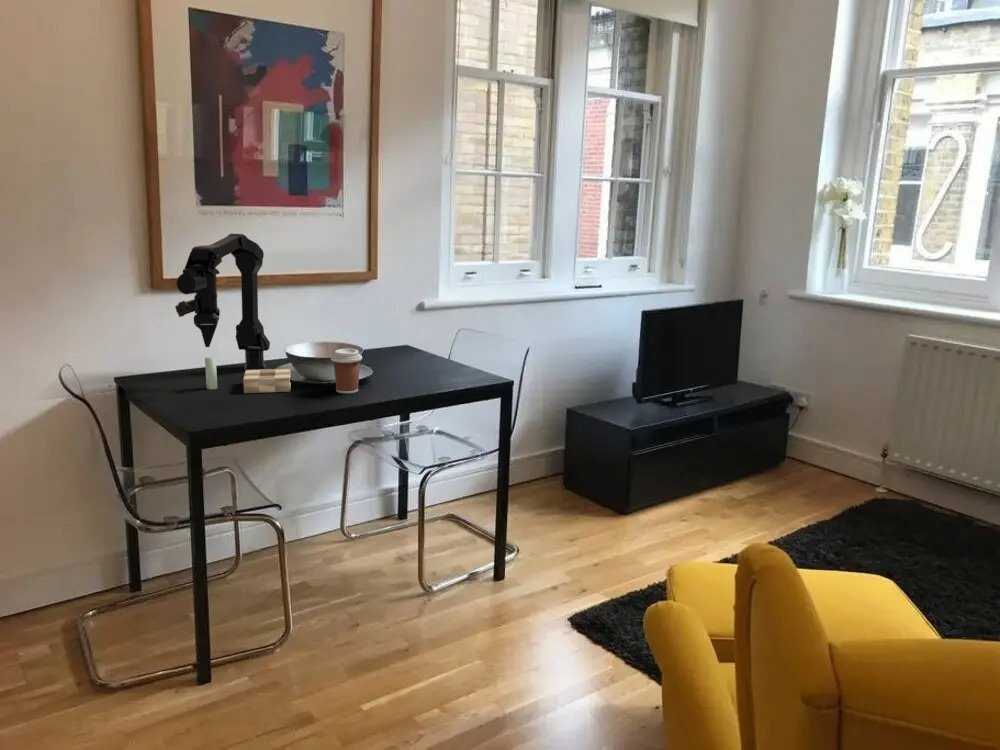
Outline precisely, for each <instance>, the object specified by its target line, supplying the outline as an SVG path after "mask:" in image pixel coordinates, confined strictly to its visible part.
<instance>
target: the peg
mask: <svg viewBox="0 0 1000 750" xmlns="http://www.w3.org/2000/svg"><path fill="white" fill-rule="evenodd" d="M216 359H217V358H216V357H213V356H209V357H205V358H204V364H205V365H204V366H205V382H206V389H207V390H217V389H218V377H217V376H218V375H217V374H218V373H217V360H216Z"/></svg>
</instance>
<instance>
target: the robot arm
mask: <svg viewBox="0 0 1000 750" xmlns="http://www.w3.org/2000/svg"><path fill="white" fill-rule="evenodd" d="M229 254H231V255H232V257H233V258H234V261H235V263H234V264H235V266H236V267H237V269H238V271H239V272H240V275H241V276H240V282H241V320H240V322H239V324H236V326H235V332H236V333H235V340H236V343H237V348H238V350H239V351H241V350H243V351H244V353H245V354H244V355H245V357H244V358H245V364H244V368H243V370H244V371H246V370H260V369H266V363H265V361H264V360H265V358H264V356H265V355H264V352H265V351H269V349H270V347H271V346H270V344H271V342H270V340H269V339H268V337H267V336H266V334H265V330H264V329H265V328H264V326H263V324H262V322H261V321H260V319H259V301H258V300H259V298H258V291H259V289H258V288H259V287H258V273H259V271H260V270H261V268H262V267H263V262H264V260H263V259H264V258H265V256H264V251H263V249H262V247H261V246H260V245H259V244H258V243H257V242H255V241H253V240H251V239H249V238H248V237H247V235H245V234H244V233H230V234H229V233H228V234H227V236H225V237H223V238H221V239H220V240H217V241H215V242H213V243H212V244H205V245H196V246H194V247H192V249H191V251H190V253H189V255H188V259H187V261H186V263H185V266H184V269H182V274H180V275H179V276H178V277H177V280H176V287H177V290H178V291H179V292H180V293H182V294H184V295H190V294H194V298H193V299H190V300H187V301H185V300H183V301H179V302H178V304H175V306H174V308H175V311H176V313H177V315H178V317H179V318H182V317H184V316H185V315H189V314H191V313H193V312H194V314H195V315H194V316H193V324H194V326H195V327H196V328H198V329H199V330H200V333H201V336H202V340H203V343H204V347H205V348H210V347H211V343H212V341H213V337H214V336H215V335H214V334H215V332H216V329H217V326H218V325H219V324H218V323H219V320H220V315H221V311H220V310H221V309H220V308H219V306H218V291H217V290H218V289H217V287H218V285H217V275H220V270H218V269H217V267H218V266H219V265H220V264H221V263H222V262H223V258H224V257H226V256H228V255H229Z"/></svg>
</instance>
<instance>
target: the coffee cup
mask: <svg viewBox="0 0 1000 750" xmlns="http://www.w3.org/2000/svg"><path fill="white" fill-rule="evenodd" d="M330 360H331V361H332V362H333V371H334V380H335V390H336V392H337V393H339V394H355V393H357V392H359V384H360V383H359V381H360V369H361V368H360V365H361V361H363V356H362V355H361V354H360V352H359V350H358V349H355V348H339V349H336V350H334V354H333V355H331V356H330Z"/></svg>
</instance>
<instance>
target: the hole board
mask: <svg viewBox="0 0 1000 750" xmlns="http://www.w3.org/2000/svg"><path fill="white" fill-rule="evenodd" d="M290 377H291V368H273V369H272V368H265V369H260V370H245V372H244V376H243V383H242V384H243V394H254V393H255V394H259V393H260V394H261V393H280V392H281V393H282V392H283V393H284V392H285V393H286V392H287V393H288V392H291V383H292V381H291V382H290Z"/></svg>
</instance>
